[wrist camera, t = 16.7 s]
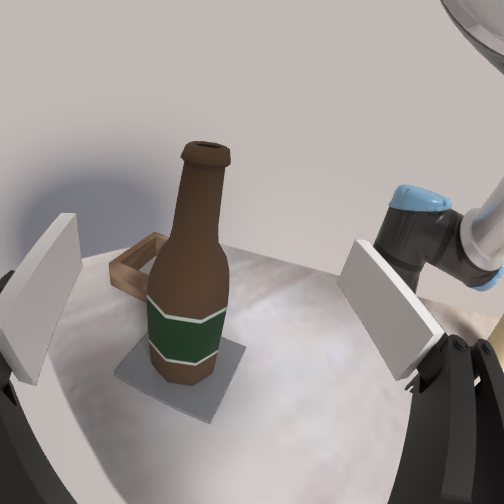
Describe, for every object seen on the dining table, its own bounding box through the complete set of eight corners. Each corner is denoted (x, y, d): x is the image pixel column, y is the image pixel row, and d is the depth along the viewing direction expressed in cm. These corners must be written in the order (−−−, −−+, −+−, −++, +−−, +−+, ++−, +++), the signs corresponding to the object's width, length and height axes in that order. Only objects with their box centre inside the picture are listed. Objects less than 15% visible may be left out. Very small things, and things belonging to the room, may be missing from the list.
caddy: (213, 274, 48) (216, 254, 46) (177, 317, 37) (179, 295, 35) (153, 250, 50) (154, 231, 48) (111, 284, 39) (108, 263, 37)
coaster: (245, 349, 35) (246, 346, 34) (209, 424, 24) (210, 422, 24) (164, 315, 37) (164, 312, 36) (114, 375, 26) (113, 372, 26)
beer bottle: (171, 328, 34) (190, 132, 23) (225, 353, 33) (274, 152, 21) (137, 367, 28) (131, 140, 16) (198, 399, 26) (239, 164, 14)
